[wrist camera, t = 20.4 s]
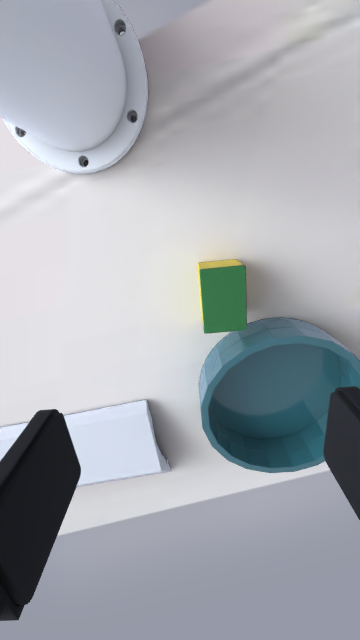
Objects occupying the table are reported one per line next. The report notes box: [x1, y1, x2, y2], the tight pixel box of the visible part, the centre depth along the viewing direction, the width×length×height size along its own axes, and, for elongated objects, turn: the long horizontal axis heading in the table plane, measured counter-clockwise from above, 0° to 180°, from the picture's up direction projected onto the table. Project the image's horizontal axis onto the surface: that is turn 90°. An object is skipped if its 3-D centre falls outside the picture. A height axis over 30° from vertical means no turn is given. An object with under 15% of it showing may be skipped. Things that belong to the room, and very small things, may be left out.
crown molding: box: [0, 400, 171, 487], centre depth 35 cm, size 29×12×4 cm, turn 104°
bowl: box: [199, 318, 360, 473], centre depth 30 cm, size 18×18×5 cm
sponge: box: [197, 259, 247, 333], centre depth 26 cm, size 6×4×4 cm, turn 6°
